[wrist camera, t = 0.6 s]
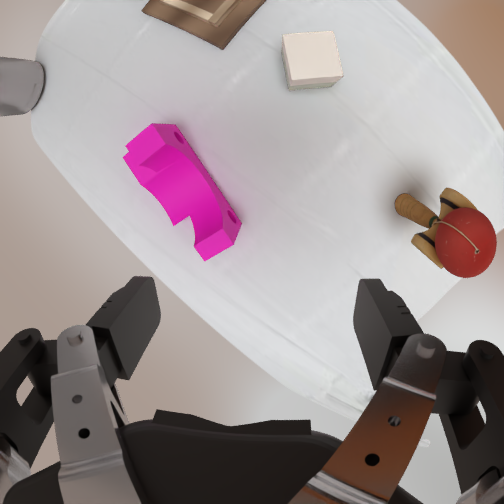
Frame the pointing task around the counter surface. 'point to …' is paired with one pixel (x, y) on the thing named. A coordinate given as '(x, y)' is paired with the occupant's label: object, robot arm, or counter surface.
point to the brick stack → (311, 60)
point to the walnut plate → (205, 16)
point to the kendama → (452, 233)
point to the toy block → (183, 186)
